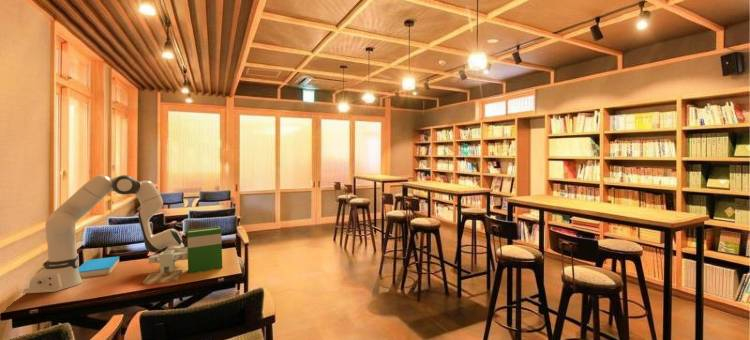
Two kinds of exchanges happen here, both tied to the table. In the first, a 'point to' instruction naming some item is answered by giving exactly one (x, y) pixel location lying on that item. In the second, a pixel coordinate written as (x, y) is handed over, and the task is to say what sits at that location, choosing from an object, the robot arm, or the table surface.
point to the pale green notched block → (167, 261)
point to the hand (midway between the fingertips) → (167, 261)
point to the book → (98, 266)
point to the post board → (162, 276)
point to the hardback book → (204, 249)
